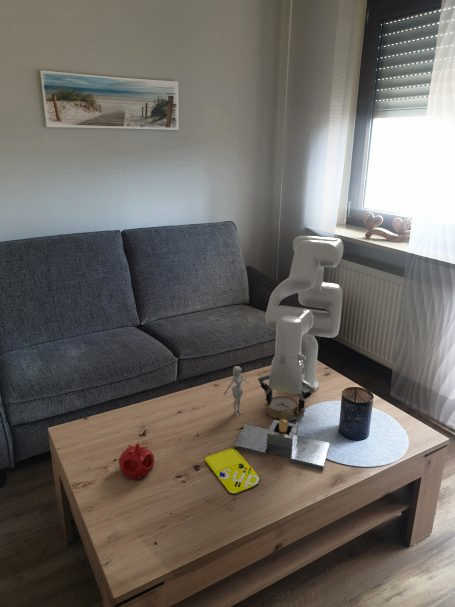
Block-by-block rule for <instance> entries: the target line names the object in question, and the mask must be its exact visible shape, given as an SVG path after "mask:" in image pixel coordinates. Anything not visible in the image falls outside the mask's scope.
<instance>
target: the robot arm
mask: <svg viewBox="0 0 455 607" xmlns="http://www.w3.org/2000/svg"><path fill="white" fill-rule="evenodd" d="M292 241H293V242H292V249H293V252H294V254H293V258H292V261H291V262H292V263H291V266H290V271H289V276H288V277H287V278H286V279H284V280H283V281H281V282H280V283H279V284H278V285H277V286H276V287H275V288H274V290H273V291H272V292H271V294H270V297H269V300H268V304H267V308H266V312H265V323H266V326H267V327H269V329H272V330H275V331H276V333H275V345H274V348H275V349H274V350H275V351H274V353H275V354H274V356H273V358H272V361H271V365H270V370H269V373H267V374H264V375H259V376H258V378H257V381H258V382H259V385H260V387H261V388H262V390H263V391H264V393H265V402H266V404H267V405H268V406H269V405H270V404H271V402H272V398H273V391H276V392H282V393H286V394H292V395H297V396H298V398H299V400H298V404H299V406H298V411H299V412H301V409H302V408H303V409H304V410H305V403H306V400H307V399H308V398H309V397H311V395H312V394H313V393H314V392H315V391H317V390H318V389H319V387H320V383H319V381H318V380H317V379H316V377H317V376H316V375H317V366H318V365H317V364H318V352H319V344H318V340H317V339H316V337H322V338H335V337H337V336H338V334H339V331H340V325H341V318H342V306H343V289H342V287H341V285H340V284H338V283H333V282H327V281H326V282H325V281H324V272H325V268H330V269H331V268H333V269H335V268H336V267H338V265H339V264H340V262H341V261H342V260H341V259H342V258H343V255H344V243H343V241H342V239H340V238H338V237H328V236H327V237H326V236H318V235H299V236H296V237H295V238H294V239H293V240H292ZM296 294H298V301H299V302H298V303H299V304H301V305H302V306H305V308H304V307H297V306H289V305H280V303H281V302H282V301H283V300H284V299H285V298H287V297H290V296H293V295H296ZM306 307H310V308H318V309H326V310H327V311H326V310H318V309H310V308H309V309H308V308H306ZM315 336H316V337H315ZM265 381H268V383H266V382H265Z"/></svg>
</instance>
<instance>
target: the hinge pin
mask: <svg viewBox="0 0 455 607" xmlns="http://www.w3.org/2000/svg"><path fill="white" fill-rule="evenodd" d="M278 421H279V433H282V434H286V435H287V426H288V423H289V422H288V420H287V419H284V418H282V419H278Z"/></svg>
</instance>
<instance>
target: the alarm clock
mask: <svg viewBox="0 0 455 607" xmlns="http://www.w3.org/2000/svg"><path fill="white" fill-rule="evenodd" d="M263 406H265V407H266V413H267V414H268V416H270V417H272V418H274V419H278V420H280V419H282V418H284V419H287V420H288V423H291V422H292V420H295V421H296V420H300V419H303V418H304V417H305V412H306V410H305V408H304V409H303V408H302V409H301V412H299V411H298V406H299V401H298V400H296V399H295V398H293V397H290V396H286V395H278V396H277V395H276V396H272V402H271V404H270V405H269V406H268V405H267V403H264V404H263Z"/></svg>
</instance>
